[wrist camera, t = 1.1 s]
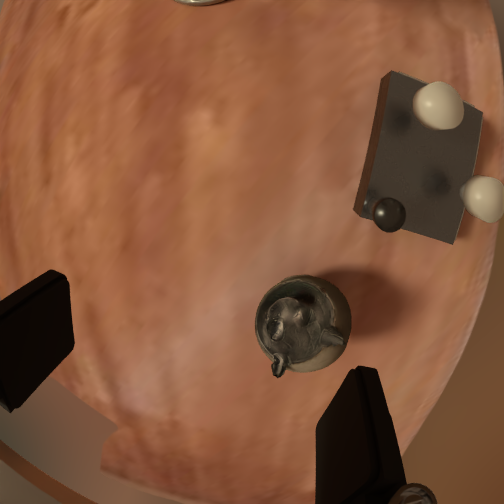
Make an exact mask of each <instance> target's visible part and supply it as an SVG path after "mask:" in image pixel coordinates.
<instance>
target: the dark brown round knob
mask: <svg viewBox="0 0 504 504" xmlns="http://www.w3.org/2000/svg"><path fill="white" fill-rule="evenodd" d="M368 209H369V212H370V213H371V214H372V217H373V221H374V223H375V224H376V225H377V226H378V227H379V228H380V229H381V230H383V231H385V232H395V231H397V230H399V229H400V228H401V227H402V226H403V224H404V222H405V219H406V211H405V208H404V206H403V205H402V203H401V202H399V201H398V200H396V199H394V198H391V197H385V198H381V197H374V198H372V199H371V200H370V202H369V204H368Z"/></svg>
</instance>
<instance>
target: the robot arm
mask: <svg viewBox="0 0 504 504" xmlns="http://www.w3.org/2000/svg"><path fill="white" fill-rule="evenodd" d="M174 1H176V2H178V3H181V4H184V5H190V6H203V5H211V4H215V3H219V2H222V1H224V0H174ZM74 344H75V341H74V333H73V324H72V314H71V301H70V285H69V282H68V281H67V278H66V276H65V275H64V274H62V273H59V272H57V271H55V270H48V271H47V272H45V273H43V274H42V275H40V276H39V277H37V278H35V279H34V280H32V281H31V282H29V283H27V284H26V285H24V286H23V287H21V288H20V289H18V290H16V291H15V292H13V293H12V294H10V295H9V296H7V297H6V298H4V299H3V300H1V301H0V405H1V406H2V407H3V408H4V409H6V410H7V411H8V412H9V413H11V412H12V411H13V410H14V409H15V408H19V407H20V406H21V405H22V404H23V403H24V402H25V401H26V400H27V399H28V397H29V396H30V395H31V394H32V393H33V392H34V391H35V390H36V389H37V387H38V386H39V385H40V384H41V383H42V382H43V381H44V380H45V379H46V378H47V377H48V376H49V375H50V373H51V372H52V371H53V370H54V369H55V368H56V367H57V366H58V365H59V364H60V363H61V362H62V361H63V360H64V359H65V358H66V357H67V356H68V355H69V353H70V352H71V351H72V350H73V348H74ZM0 504H97V503H95V502H94V501H92V500H90V499H88V498H86V497H84V496H82V495H80V494H78V493H77V492H75V491H73V490H72V489H70V488H68V487H66V486H64V485H63V484H61V483H60V482H58V481H57V480H55V479H53V478H52V477H50V476H49V475H47V474H46V473H44V472H43V471H41V470H40V469H38V468H37V467H35V466H34V465H32V464H31V463H30V462H28V461H27V460H26V459H24V458H23V457H21V456H20V455H19V454H18V453H16V452H15V451H14V450H12V449H11V448H10V447H9V446H7V445H6V444H5V443H4V442H2V441H1V440H0ZM315 504H437V500H436V497H435V495H434V494H433V492H432V491H431V490H430V489H429V488H428V487H427V486H424V485H422V484H419V483H410V484H407V483H406V478H405V473H404V468H403V464H402V459H401V455H400V450H399V446H398V442H397V437H396V433H395V429H394V425H393V421H392V418H391V415H390V413H389V410H388V406H387V403H386V399H385V395H384V392H383V388H382V385H381V381H380V378H379V375H378V371H377V369H375V368H370V367H365V366H357V367H356V369H351V370H350V371H349V372H348V374H347V376H346V378H345V379H344V381H343V383H342V384H341V386H340V388H339V389H338V391H337V393H336V394H335V396H334V398H333V399H332V401H331V403H330V404H329V406H328V407H327V409H326V410H325V412H324V414H323V415H322V417H321V418H320V420H319V421H318V423H317V426H316V495H315Z"/></svg>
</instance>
